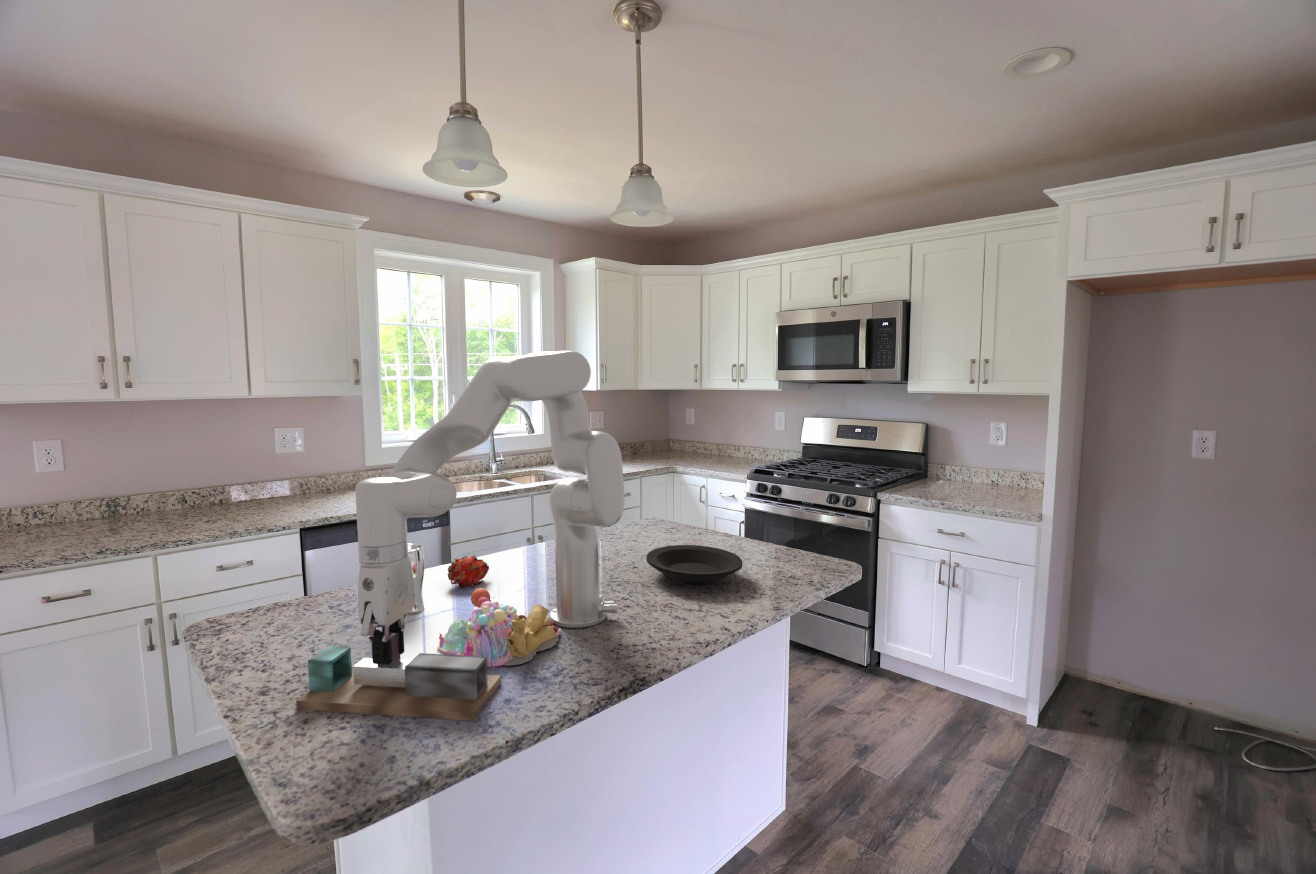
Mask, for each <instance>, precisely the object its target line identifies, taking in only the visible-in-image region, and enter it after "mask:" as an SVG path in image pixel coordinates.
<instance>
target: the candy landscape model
mask: <svg viewBox="0 0 1316 874" xmlns="http://www.w3.org/2000/svg"><path fill="white" fill-rule="evenodd" d="M470 602H471V604H472V605H473V606H474V607H476V608H475V610H473V611H472V612H471V616H469V617H468V621H466V620H465V619H463V618H458V619H455V620H454V621H453V622H452V623H451V624H450V625H449V627H448V629H447V632H446V634H444V635H443V634H442V633H439V636H438V643H437V647H436V648H437V651H439V653H441V654H445V655H464V656H483V657H487V668H489V669H490V668H491V667H492V668H493V670H495V667H499V666H507V667H509V666H516V665H523V664H525V663H527V662H530V661H533V657H534V656H536V655H537V652H542V651H546V650H547V649H550V648H552V647H554V646H556V645H557V643H558V641H559V636H560V634H561V633H562V630H561V627H560V626H557V625H556V624H555V623H554V622H552V621H550V618H547V616H548V614H549V612H550V610H549V609H547V608H546V607H544V606H543V605H541V604H536V603H534V605H533V607H532V609H531V610H530V613H529V614H528V615H527V616H526V615H524V614H517V612H518V611H517V609H516V608H515V607H514V606H511V605H510V604H509V605H508V604H505V605H503V604H500V603H499V602H498V601H492V600H491V594H490V592H489V591H488V590H487V589H486V588H483V587H479V588H476V589H475V590H474V591H472V594H471V595H470Z"/></svg>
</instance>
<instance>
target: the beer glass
mask: <svg viewBox="0 0 1316 874" xmlns="http://www.w3.org/2000/svg"><path fill="white" fill-rule="evenodd" d="M408 555H409V558H410V562H411V566H412V573H413V581H414V590H415V605H414V607H413V608H412V609H411V610H410V611H409V612H408V613H406V616H411V615H412V616H413V615H417V614H419V613H421V612H423V611H424V610H425V605H424V602H423V600H424V599H423V595H422V593H423V592H422V591H423V584H424V575H425V574H424V573H425V555H424V548H423V545H422V544H420V543H408Z"/></svg>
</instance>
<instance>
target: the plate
mask: <svg viewBox="0 0 1316 874" xmlns="http://www.w3.org/2000/svg"><path fill="white" fill-rule="evenodd" d="M646 563H647V564H648V565H649V566H650V567H652V568H653V569H654V570H656V571H658V572H659V573H661V574H663V575H665V576H667V577H668V578H670V579H672V580H674V581H676V582H678V583H680V584H683V585H690V586H701V585H707V584H710V583H713V582H716V581H720V580H723V579H725V578H727V577H729V576H731V575H734V574H736V573H737V572H739V571H740V570H741V569H742V567H743V560H742V558H741V556H739V555H737V554H736V553H733V552H732V551H728V550H726V549H722V548H718V547H713V546H706V545H695V544H676V545H674V544H673V545H665V546H661V547H657V548H654V549H651V550H650V551H649V552H648V553H647V554H646Z"/></svg>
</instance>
